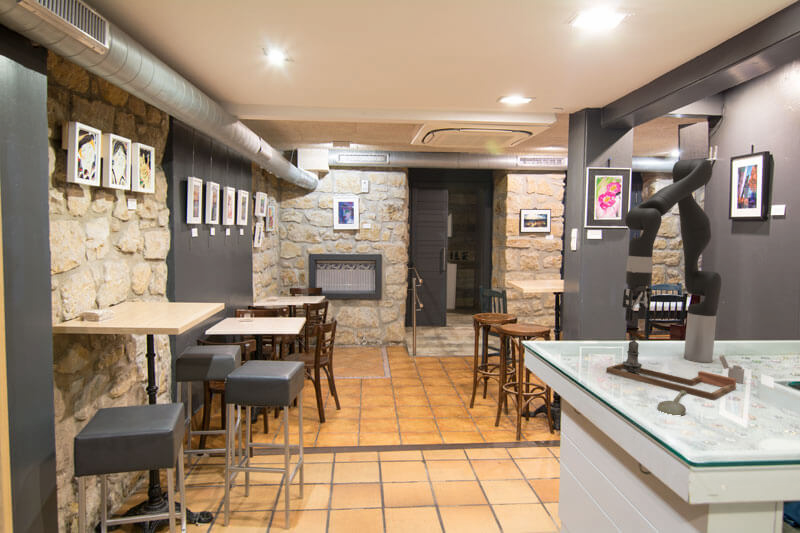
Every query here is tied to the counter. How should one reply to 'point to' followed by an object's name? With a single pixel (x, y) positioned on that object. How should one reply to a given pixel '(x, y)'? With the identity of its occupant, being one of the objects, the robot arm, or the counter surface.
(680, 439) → the counter surface
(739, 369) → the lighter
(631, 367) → the salt shaker
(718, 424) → the counter surface
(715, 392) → the track
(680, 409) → the soupspoon
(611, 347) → the counter surface
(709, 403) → the counter surface
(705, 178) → the robot arm
